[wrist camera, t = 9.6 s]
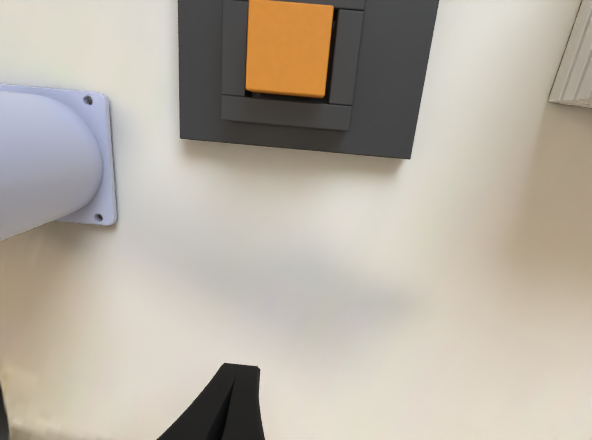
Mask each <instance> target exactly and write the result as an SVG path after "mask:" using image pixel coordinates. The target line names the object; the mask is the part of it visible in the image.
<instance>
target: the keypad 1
mask: <svg viewBox="0 0 592 440" xmlns="http://www.w3.org/2000/svg"><path fill="white" fill-rule="evenodd" d="M271 1H283V2H295V3H307V4H320V5H332V6H333V7H334V10H333V20H332V30H331V39H330V49H329V59H328V69H327V78H326V88H325V95H324V97H323V98H311V97H300V96H288V95H277V94H265V93H254V92H251V91H249V90H247V89H246V88H245V86H246V60H247V34H248V8H249V0H178V34H179V101H180V138H181V139H191V140H202V141H213V142H224V143H235V144H246V145H257V146H268V147H279V148H290V149H301V150H312V151H323V152H334V153H345V154H356V155H368V156H379V157H390V158H401V159H410V158H411V152H412V147H413V141H414V136H415V130H416V125H417V119H418V114H419V108H420V103H421V97H422V92H423V86H424V81H425V75H426V70H427V64H428V59H429V53H430V48H431V42H432V37H433V31H434V26H435V20H436V15H437V9H438V4H439V0H271Z"/></svg>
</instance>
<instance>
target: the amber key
mask: <svg viewBox="0 0 592 440" xmlns="http://www.w3.org/2000/svg"><path fill="white" fill-rule="evenodd" d="M333 10H334V7H333V6H332V5H320V4H307V3H295V2H283V1H271V0H249V8H248V34H247V60H246V86H245V88H246V89H247V90H249V91H251V92H254V93H265V94H277V95H288V96H300V97H311V98H323V97H324V95H325V88H326V78H327V69H328V59H329V49H330V39H331V30H332V20H333Z"/></svg>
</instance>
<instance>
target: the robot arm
mask: <svg viewBox="0 0 592 440" xmlns="http://www.w3.org/2000/svg"><path fill="white" fill-rule="evenodd" d="M89 97H91V98H92V101H93V102H92V104H91V105H90V104H89V103H88V98H89ZM98 214H100V215H101V216H102V218H103V219H102V220H101V219H100V218H99V217H98ZM51 221H62V222H72V223H82V224H93V225H103V226H110V225H112V224H114V223H115V222H116V221H117V210H116V196H115V182H114V169H113V155H112V141H111V127H110V113H109V102H108V99H107V97H106V96H105V95H104V94H102V93H99V92H88V91H77V90H66V89H54V88H43V87H32V86H20V85H9V84H0V241H2V240H5V239H7V238H10V237H13V236H15V235H18V234H20V233H23V232H25V231H28V230H30V229H33V228H36V227H38V226H41V225H43V224H46V223H48V222H51ZM259 381H260V369H259V368H258V366H249V365H239V364H230V363H224V364H223V365H222V366H221V367H220V368H219V370H218V371H217V373H216V374H215V375H214V377H213V378H212V379H211V381H210V382H209V383H208V385H207V386H206V387H205V388H204V390H203V391H202V392H201V393H200V394H199V396H198V397H197V398H196V399H195V400H194V401H193V403H192V404H191V405H190V406H189V407H188V408H187V409H186V410H185V412H184V413H183V414H182V415H181V416H180V417H179V418H178V419H177V420H176V421H175V422H174V423H173V424H172V425H171V426H170V427H169V428H168V429H167V430H166V431H165V432H164V433H163V434H162V435H161V436H160V437H159V438H158V439H157V440H265V437H264V432H263V427H262V421H261V414H260V406H259Z"/></svg>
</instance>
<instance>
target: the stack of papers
mask: <svg viewBox="0 0 592 440" xmlns="http://www.w3.org/2000/svg"><path fill="white" fill-rule="evenodd" d="M548 102H554V103H561V104H568V105H574V106H581V107H588V108H592V0H582V3H581V6H580V9H579V12H578V15H577V18H576V21H575V24H574V27H573V30H572V33H571V36H570V39H569V41H568V44H567V47H566V50H565V53H564V56H563V59H562V62H561V65H560V68H559V71H558V74H557V77H556V79H555V82H554V85H553V88H552V91H551V94H550V97H549V100H548Z"/></svg>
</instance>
